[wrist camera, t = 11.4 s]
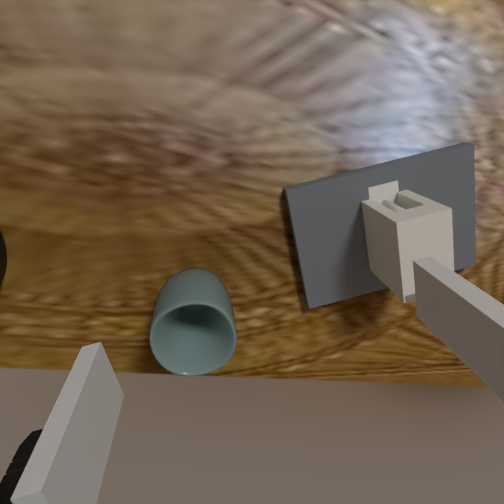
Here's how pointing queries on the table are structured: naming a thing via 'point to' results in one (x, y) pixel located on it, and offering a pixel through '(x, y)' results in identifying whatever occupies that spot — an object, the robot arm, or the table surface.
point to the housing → (406, 239)
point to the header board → (352, 223)
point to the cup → (193, 324)
